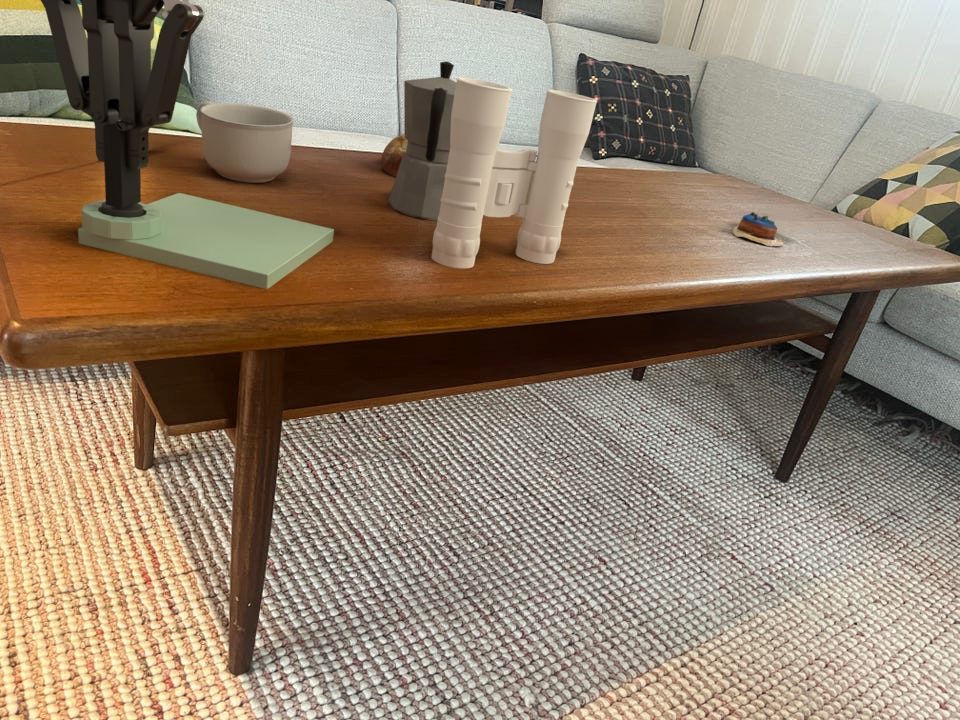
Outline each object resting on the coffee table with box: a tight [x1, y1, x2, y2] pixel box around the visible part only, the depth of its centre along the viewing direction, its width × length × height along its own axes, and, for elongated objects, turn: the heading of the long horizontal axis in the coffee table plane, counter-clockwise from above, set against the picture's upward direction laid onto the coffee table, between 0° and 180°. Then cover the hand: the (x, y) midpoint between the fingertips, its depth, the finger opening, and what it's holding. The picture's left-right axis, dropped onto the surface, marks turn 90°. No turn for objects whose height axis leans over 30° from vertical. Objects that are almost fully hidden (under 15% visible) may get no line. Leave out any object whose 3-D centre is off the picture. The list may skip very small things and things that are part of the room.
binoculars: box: [431, 77, 598, 269], centre depth 77 cm, size 17×5×18 cm, turn 127°
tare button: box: [102, 202, 143, 218], centre depth 63 cm, size 3×3×2 cm
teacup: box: [195, 100, 294, 184], centre depth 91 cm, size 14×11×8 cm
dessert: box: [732, 211, 784, 247], centre depth 116 cm, size 8×7×6 cm
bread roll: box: [381, 133, 408, 177], centre depth 110 cm, size 10×10×8 cm
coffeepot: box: [388, 61, 457, 222], centre depth 89 cm, size 15×9×18 cm, turn 179°
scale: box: [77, 192, 335, 290], centre depth 68 cm, size 18×16×3 cm
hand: (123, 202), depth 63 cm, fingers closed
